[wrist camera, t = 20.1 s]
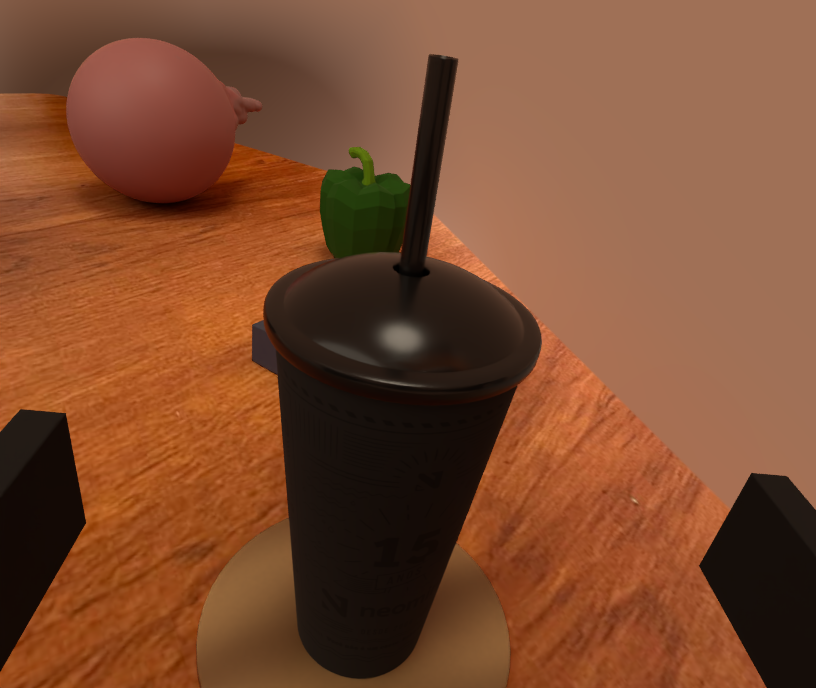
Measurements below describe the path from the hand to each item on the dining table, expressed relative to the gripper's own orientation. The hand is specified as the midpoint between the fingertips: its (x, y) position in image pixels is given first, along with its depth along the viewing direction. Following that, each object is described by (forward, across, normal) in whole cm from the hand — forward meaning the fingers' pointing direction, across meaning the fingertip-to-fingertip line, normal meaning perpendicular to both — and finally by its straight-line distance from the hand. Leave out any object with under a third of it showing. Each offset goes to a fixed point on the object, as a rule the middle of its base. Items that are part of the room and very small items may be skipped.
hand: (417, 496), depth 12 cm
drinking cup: (+6, 0, -13) cm, 14 cm away
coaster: (+6, 0, -13) cm, 14 cm away
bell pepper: (+44, -1, -13) cm, 46 cm away
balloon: (+56, -22, -13) cm, 61 cm away
